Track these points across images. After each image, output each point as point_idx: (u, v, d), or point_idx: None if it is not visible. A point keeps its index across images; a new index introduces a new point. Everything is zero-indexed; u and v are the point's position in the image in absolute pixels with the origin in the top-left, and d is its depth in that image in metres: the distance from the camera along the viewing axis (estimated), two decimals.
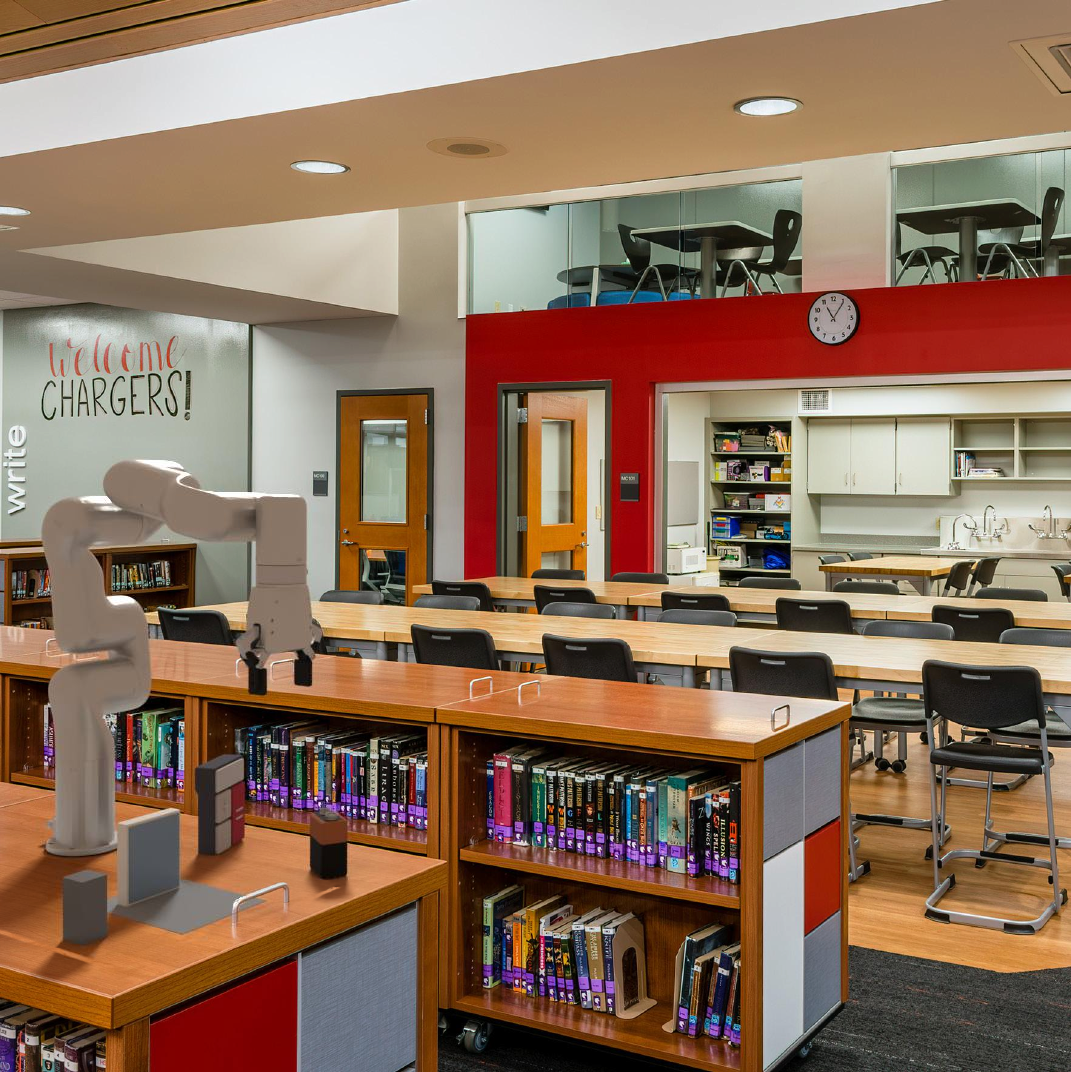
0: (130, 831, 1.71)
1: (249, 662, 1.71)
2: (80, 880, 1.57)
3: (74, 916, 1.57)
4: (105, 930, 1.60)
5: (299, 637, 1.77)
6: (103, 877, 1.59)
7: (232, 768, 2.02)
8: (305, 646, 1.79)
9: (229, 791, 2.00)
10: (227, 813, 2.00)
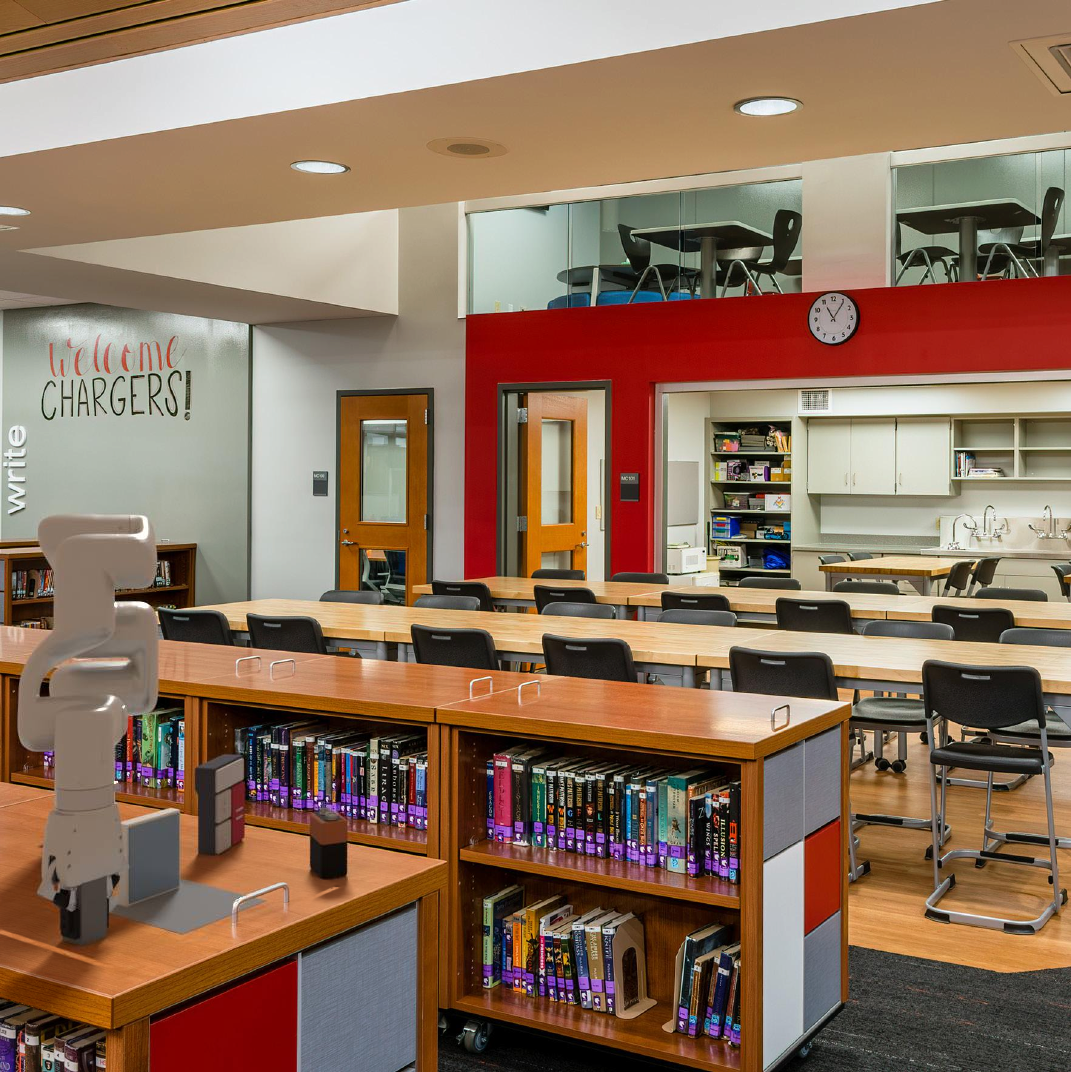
0: (130, 831, 1.71)
1: (59, 904, 1.55)
2: None
3: None
4: (105, 930, 1.60)
5: (105, 864, 1.59)
6: (103, 877, 1.59)
7: (232, 768, 2.02)
8: (114, 872, 1.61)
9: (229, 791, 2.00)
10: (227, 813, 2.00)
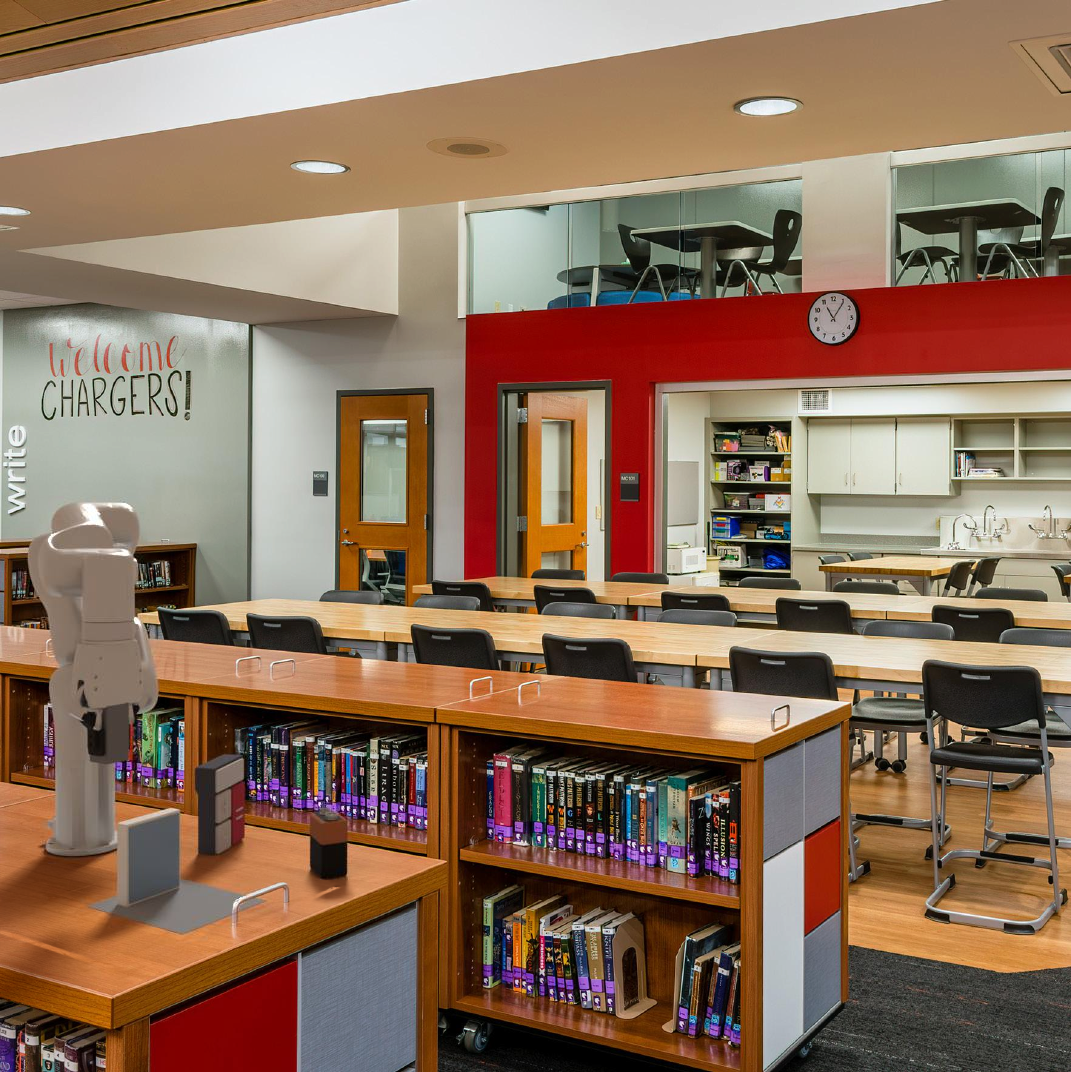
0: (130, 831, 1.71)
1: (86, 724, 1.76)
2: None
3: None
4: (127, 750, 1.80)
5: (127, 692, 1.80)
6: (125, 703, 1.80)
7: (232, 768, 2.02)
8: (134, 701, 1.81)
9: (229, 791, 2.00)
10: (227, 813, 2.00)
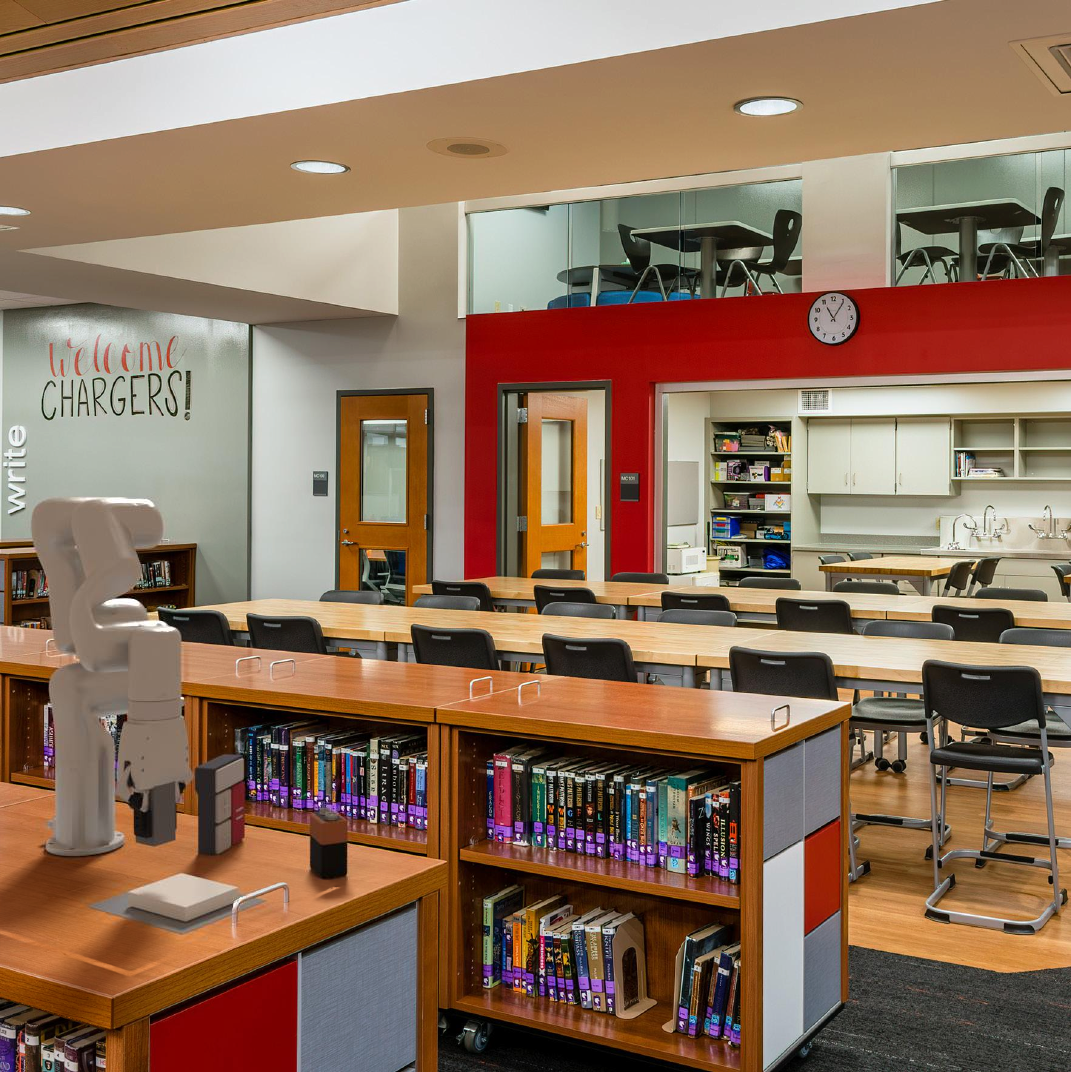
0: (183, 920, 1.66)
1: (133, 805, 1.71)
2: None
3: None
4: (173, 831, 1.75)
5: (174, 771, 1.75)
6: (172, 782, 1.75)
7: (232, 768, 2.02)
8: (181, 779, 1.76)
9: (229, 791, 2.00)
10: (227, 813, 2.00)
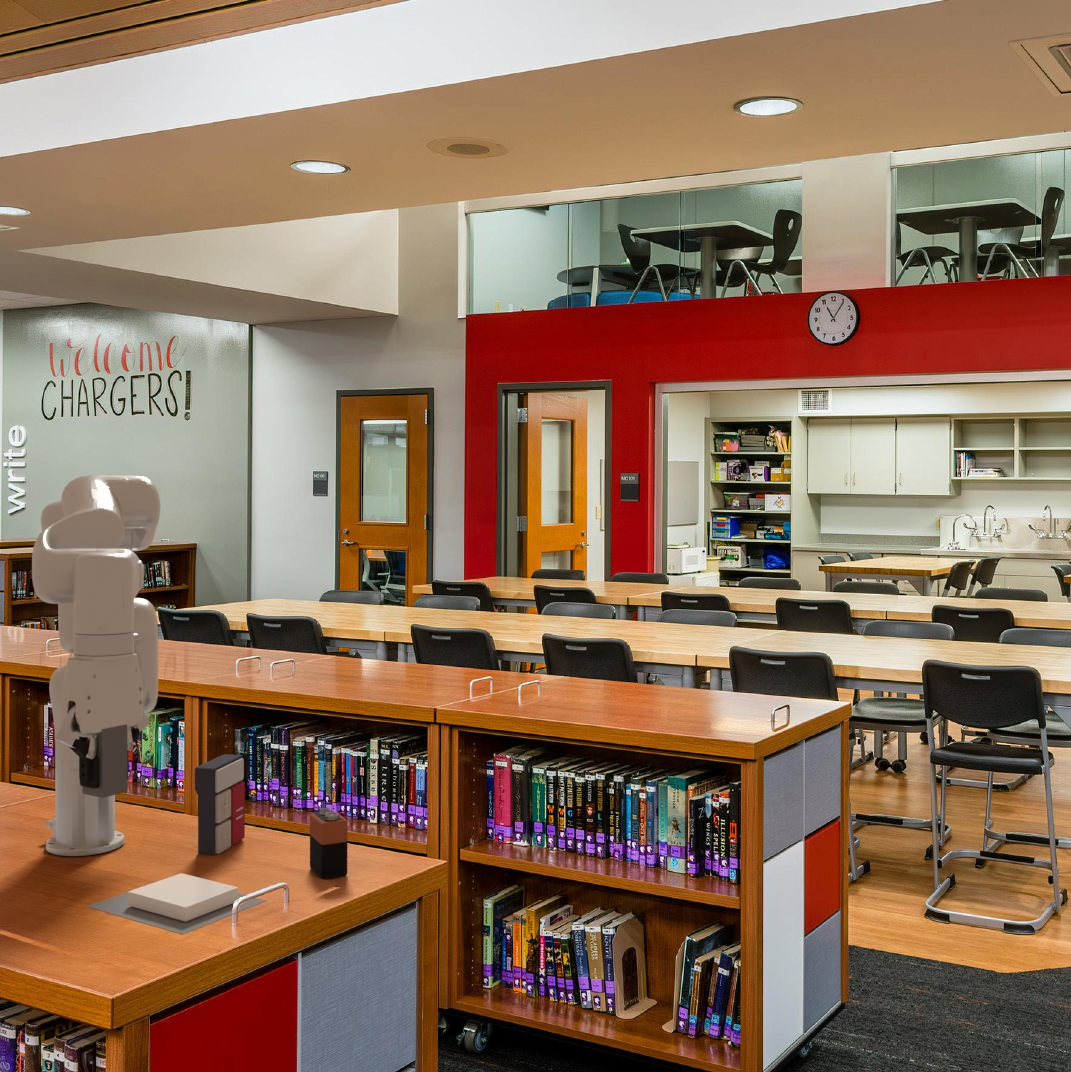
0: (183, 920, 1.66)
1: (78, 751, 1.52)
2: None
3: None
4: (125, 781, 1.57)
5: (125, 714, 1.56)
6: (123, 726, 1.56)
7: (232, 768, 2.02)
8: (133, 724, 1.58)
9: (229, 791, 2.00)
10: (227, 813, 2.00)
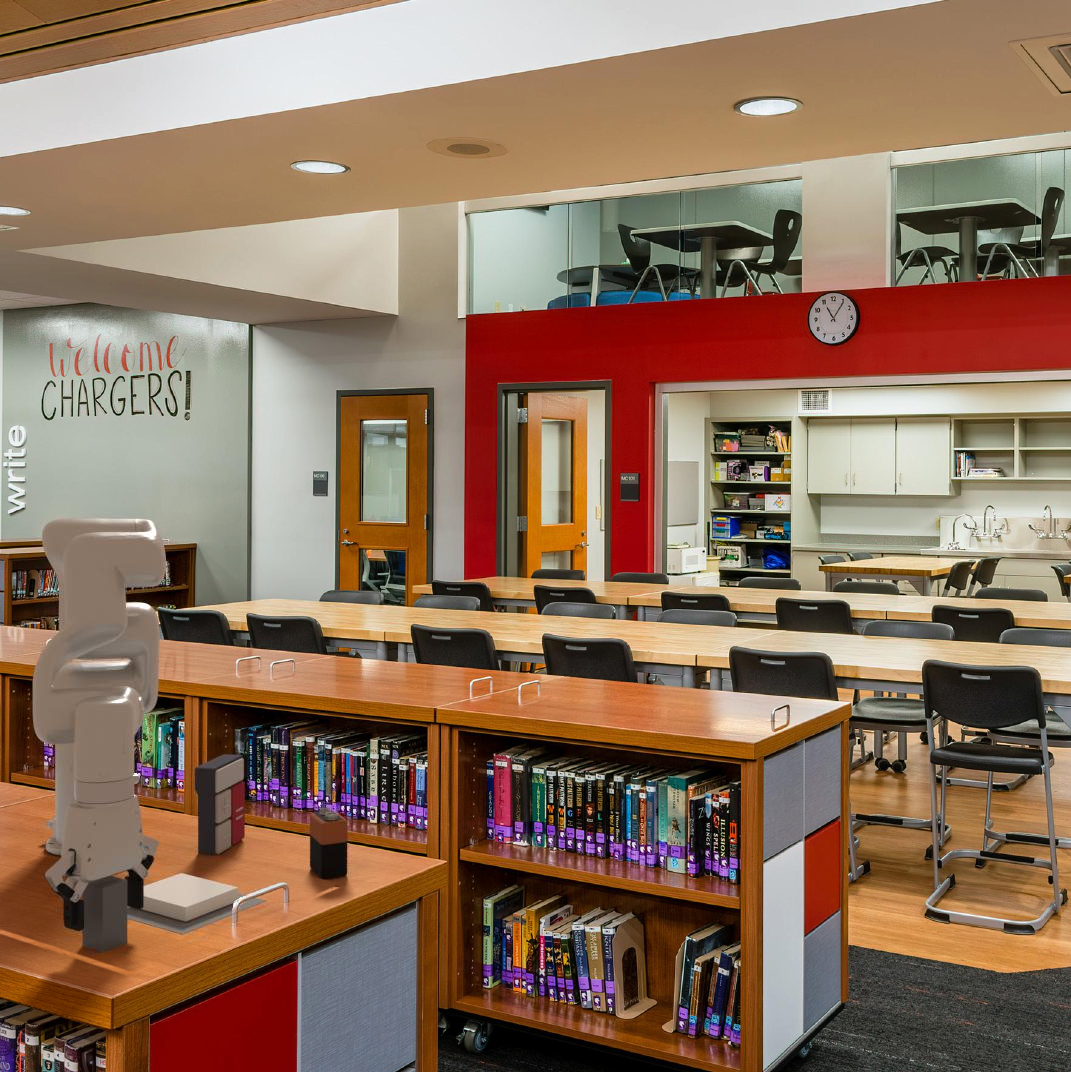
0: (183, 920, 1.66)
1: (62, 895, 1.51)
2: (100, 886, 1.55)
3: (94, 922, 1.55)
4: (125, 936, 1.58)
5: (125, 858, 1.57)
6: (123, 883, 1.57)
7: (232, 768, 2.01)
8: (134, 866, 1.59)
9: (229, 791, 2.00)
10: (227, 813, 1.99)
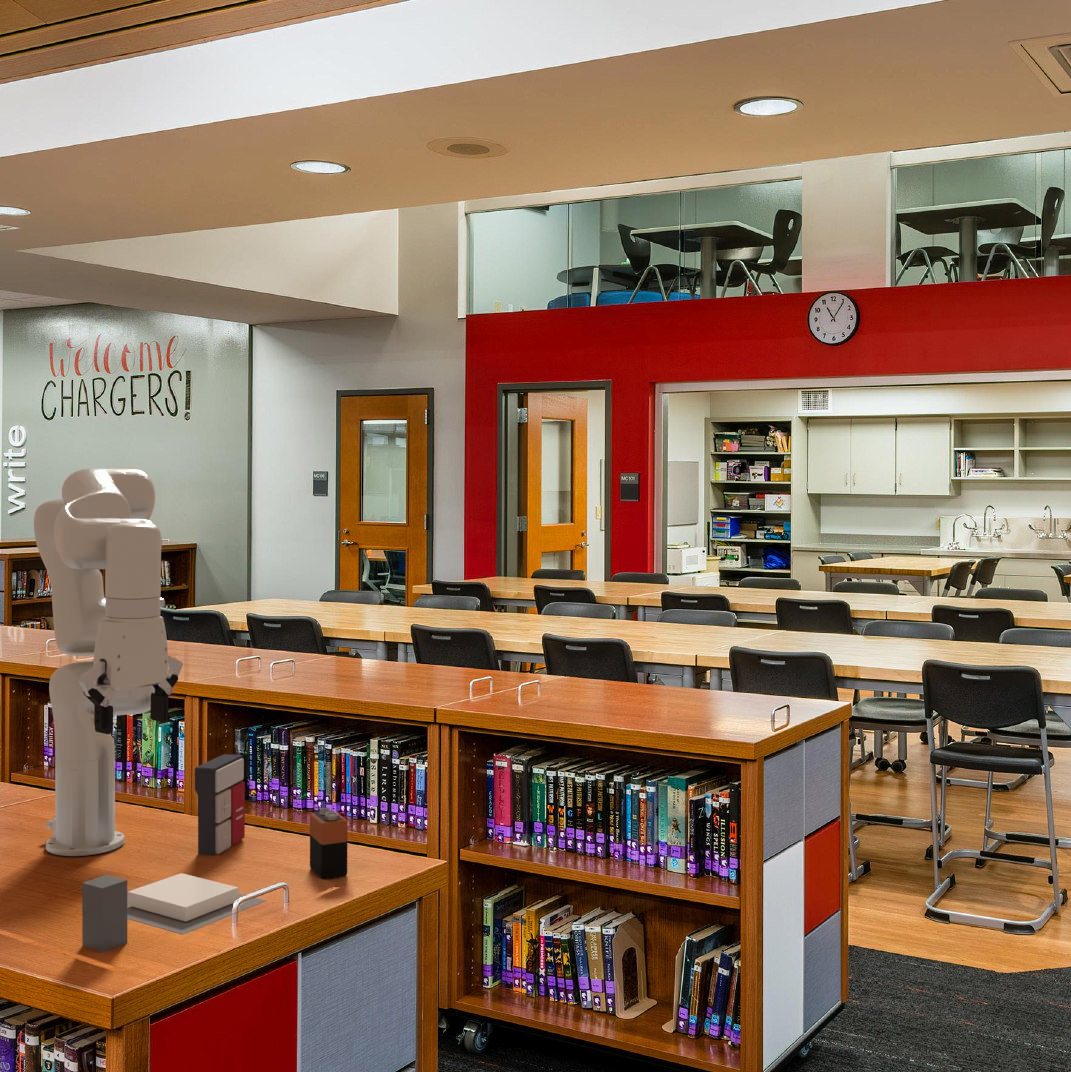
0: (183, 920, 1.66)
1: (93, 700, 1.64)
2: (100, 886, 1.55)
3: (94, 922, 1.55)
4: (125, 936, 1.58)
5: (151, 672, 1.70)
6: (123, 882, 1.57)
7: (232, 768, 2.02)
8: (159, 681, 1.71)
9: (229, 791, 2.00)
10: (227, 813, 2.00)
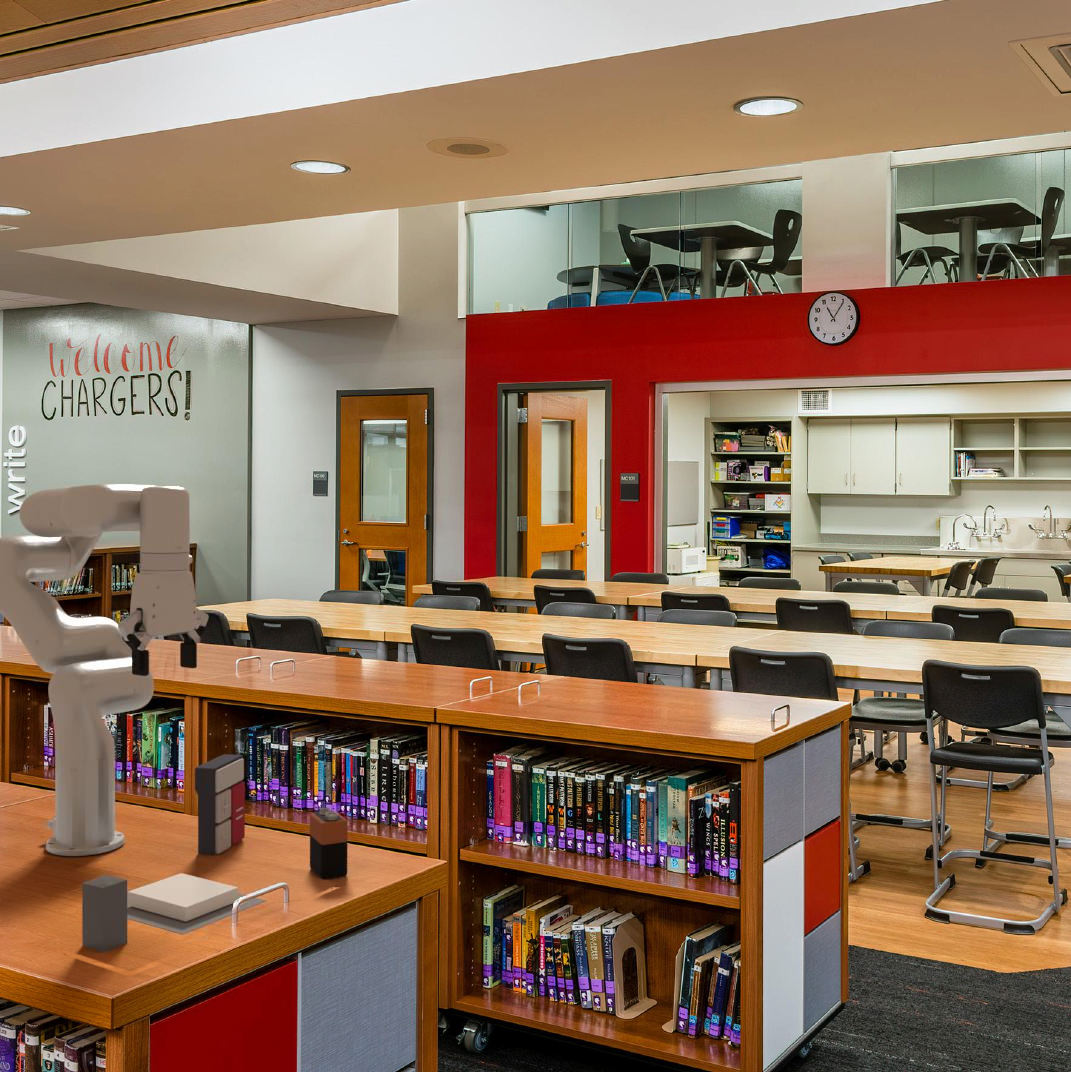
0: (183, 920, 1.66)
1: (131, 644, 1.82)
2: (100, 886, 1.55)
3: (94, 922, 1.55)
4: (125, 936, 1.58)
5: (182, 621, 1.88)
6: (123, 882, 1.57)
7: (232, 768, 2.02)
8: (189, 630, 1.89)
9: (229, 791, 2.00)
10: (227, 813, 2.00)
